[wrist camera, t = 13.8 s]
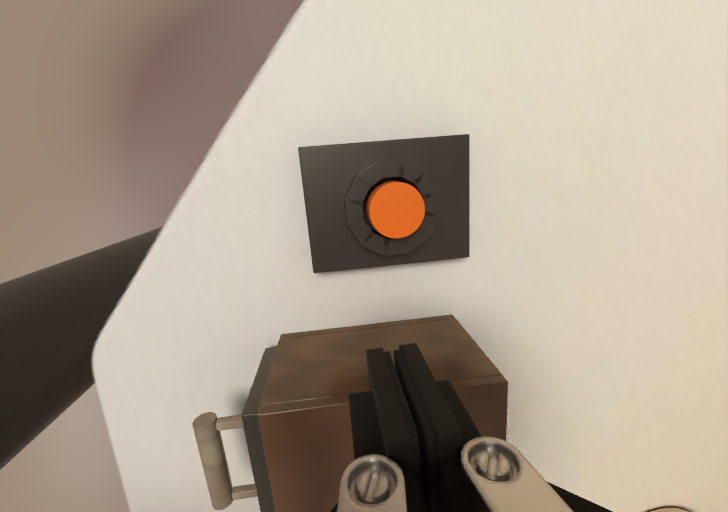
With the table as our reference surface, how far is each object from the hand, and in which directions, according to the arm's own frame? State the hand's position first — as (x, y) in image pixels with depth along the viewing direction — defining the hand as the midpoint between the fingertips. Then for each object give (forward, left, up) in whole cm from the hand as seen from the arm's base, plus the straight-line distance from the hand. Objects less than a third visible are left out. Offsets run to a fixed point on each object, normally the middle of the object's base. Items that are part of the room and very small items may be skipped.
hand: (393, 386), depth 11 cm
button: (-1, +5, -14) cm, 14 cm away
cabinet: (+9, -8, -17) cm, 21 cm away
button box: (-1, +5, -17) cm, 17 cm away
